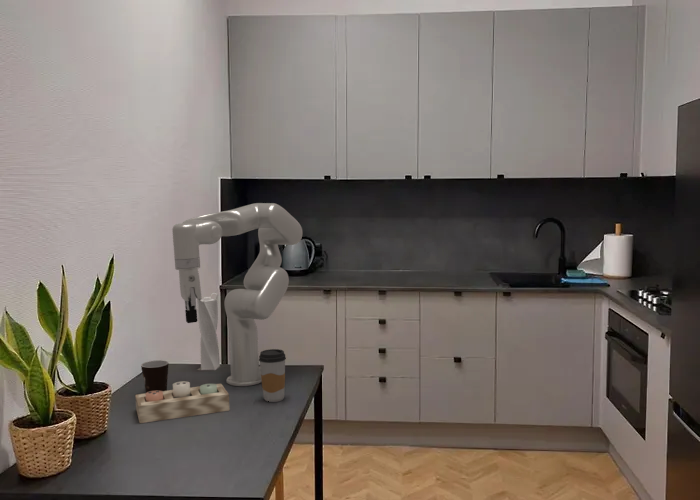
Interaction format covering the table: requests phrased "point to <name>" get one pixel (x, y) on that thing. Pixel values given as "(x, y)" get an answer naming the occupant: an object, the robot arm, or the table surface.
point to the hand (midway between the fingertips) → (191, 321)
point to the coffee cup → (272, 374)
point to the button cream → (181, 389)
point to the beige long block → (182, 405)
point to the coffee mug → (155, 375)
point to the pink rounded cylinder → (154, 396)
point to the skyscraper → (208, 332)
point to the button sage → (208, 389)
